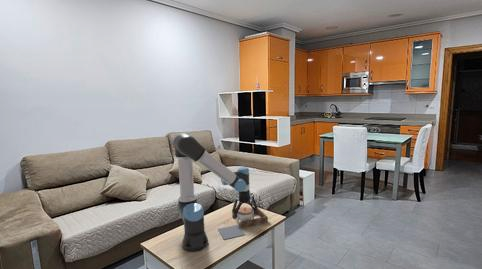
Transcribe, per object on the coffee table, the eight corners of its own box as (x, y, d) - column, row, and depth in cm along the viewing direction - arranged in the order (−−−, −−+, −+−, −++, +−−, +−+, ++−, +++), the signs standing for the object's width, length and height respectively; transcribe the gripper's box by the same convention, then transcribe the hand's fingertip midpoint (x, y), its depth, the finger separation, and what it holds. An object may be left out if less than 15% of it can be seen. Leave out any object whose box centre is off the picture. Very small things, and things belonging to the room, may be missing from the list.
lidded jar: (253, 224, 182) (252, 211, 181) (237, 224, 183) (236, 211, 181) (252, 217, 193) (252, 204, 192) (237, 217, 193) (237, 205, 192)
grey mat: (223, 239, 164) (223, 239, 164) (217, 229, 177) (217, 228, 177) (245, 235, 169) (245, 234, 169) (237, 225, 182) (237, 224, 182)
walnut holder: (240, 228, 177) (240, 222, 177) (232, 217, 194) (232, 212, 193) (267, 222, 184) (267, 216, 184) (257, 212, 200) (257, 207, 200)
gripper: (229, 194, 177) (231, 225, 180) (261, 188, 185) (262, 219, 188) (226, 190, 184) (227, 221, 187) (257, 185, 192) (258, 214, 195)
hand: (245, 220), depth 188 cm, fingers closed on lidded jar, 11 cm apart
